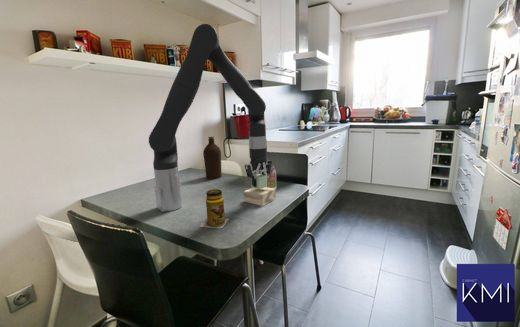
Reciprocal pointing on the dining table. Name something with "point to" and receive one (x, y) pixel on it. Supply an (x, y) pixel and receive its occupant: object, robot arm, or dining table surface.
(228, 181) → the dining table surface
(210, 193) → the condiment
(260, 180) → the green cube
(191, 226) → the dining table surface
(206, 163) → the olive oil
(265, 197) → the maple block
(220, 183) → the dining table surface
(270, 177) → the patterned jar
